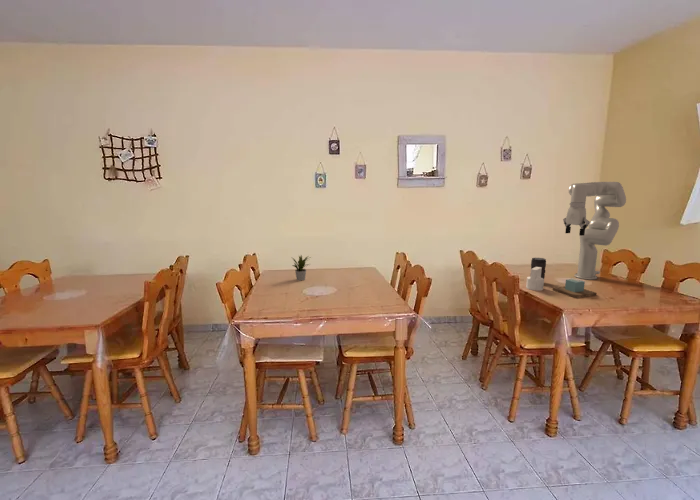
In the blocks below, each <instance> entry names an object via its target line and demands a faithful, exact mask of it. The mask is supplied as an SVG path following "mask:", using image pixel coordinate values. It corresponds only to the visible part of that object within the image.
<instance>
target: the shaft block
mask: <svg viewBox="0 0 700 500" xmlns="http://www.w3.org/2000/svg"><path fill="white" fill-rule="evenodd" d="M552 291H553V292H556V293H559V294H563V295H565V296H568V297H571V298H573V299H579V298H585V297H586V298H587V297H595V296H597V292H595V291H592V290H589V289H585V288H584V291H582V292H572V291H569V290H566V289H565V285H564V286H558V287H557V286H555V287H552Z"/></svg>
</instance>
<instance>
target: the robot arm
mask: <svg viewBox="0 0 700 500" xmlns="http://www.w3.org/2000/svg"><path fill="white" fill-rule="evenodd" d="M568 194H569V195H570V203H569V207H568V208H567V209H568V210H567V212H566V213H567V214H566V215H565V216H566V217H565V218H563V219H562V220H563V224H564V227H565V232H564V233H565V234H571V229H572V225H575V226H579V227H580V228H579V232H578V233H579V244H580V245H579V253H578V254H579V255H578V264H577V273H576V272H575V273H574V276H573V277H575V278H576V279H577V278H578V279H580V280H581V279H582V280H590V281H591V280H597V279H598V276H597V275H599V274H601V272H600V270H596V266H597V258H598V249H597V247H596V246H595V245H598V246H609V245H611V243H612V242H613V240H614V238H615V236H616V234H617V232H618V230H619V227H620V222H619V220H618V219H616V218H613V217H611V214H610V211H609V210H607V208H608V207H609V208H623V207H624V206H625V205H626V203H627V197H626V192H625V190H624V186H623V185H622V184H621V182H620V181H619V182H618V181H592V182H582V183H581V182H580V183H578V182H577V183H572V184H570V185H569V187H568ZM588 197H594V199H593V200H594V201H593V202H594V203H593V205H594V214H593V216H592V217H591V219H590V220H589V219H587V209H586V204H587V203H586V201H587V198H588ZM606 207H607V208H606Z"/></svg>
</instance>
